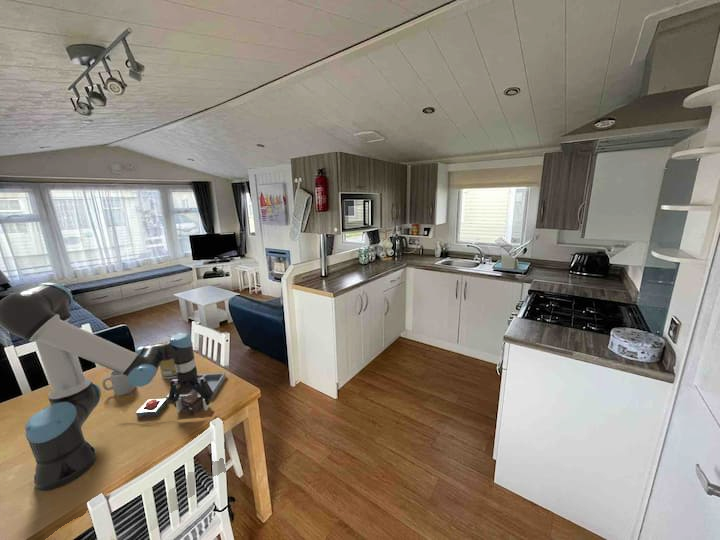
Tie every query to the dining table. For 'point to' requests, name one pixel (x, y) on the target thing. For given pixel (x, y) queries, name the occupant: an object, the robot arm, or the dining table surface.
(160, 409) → the white square piece
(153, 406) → the button
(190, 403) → the box
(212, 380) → the pallet
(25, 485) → the dining table surface
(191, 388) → the seated block
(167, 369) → the supplement tub
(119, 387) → the mug
